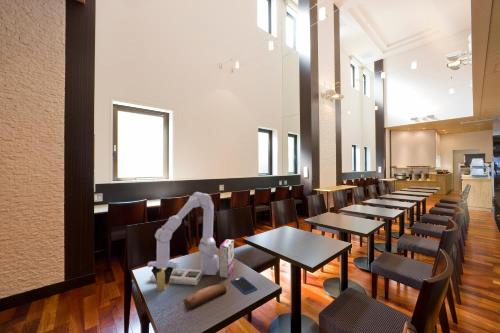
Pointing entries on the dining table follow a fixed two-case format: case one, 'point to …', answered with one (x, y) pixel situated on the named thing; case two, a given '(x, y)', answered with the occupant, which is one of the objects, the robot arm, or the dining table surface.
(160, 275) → the brass block
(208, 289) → the brown rounded bar
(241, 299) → the dining table surface
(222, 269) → the candy bar box
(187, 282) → the white compartment tray
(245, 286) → the cell phone
